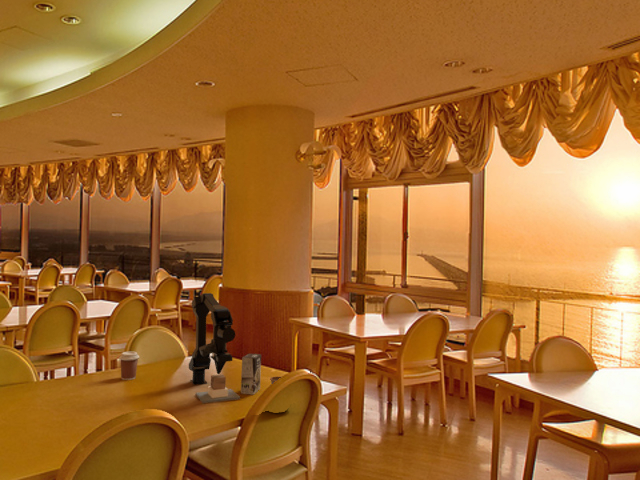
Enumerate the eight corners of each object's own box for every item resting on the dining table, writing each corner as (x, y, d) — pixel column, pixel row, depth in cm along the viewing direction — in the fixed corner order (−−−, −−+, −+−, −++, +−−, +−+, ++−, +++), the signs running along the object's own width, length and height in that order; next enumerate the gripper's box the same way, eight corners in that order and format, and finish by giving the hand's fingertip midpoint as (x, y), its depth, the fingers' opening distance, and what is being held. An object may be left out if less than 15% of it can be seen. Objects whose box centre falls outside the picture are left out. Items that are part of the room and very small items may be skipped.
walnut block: (210, 386, 223) (211, 375, 223) (221, 385, 225) (222, 374, 226) (213, 389, 219) (214, 378, 219) (225, 388, 221) (225, 377, 221)
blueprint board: (195, 395, 224) (196, 385, 224) (231, 391, 231) (231, 382, 231) (202, 403, 213) (203, 393, 213) (239, 399, 220) (240, 389, 220)
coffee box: (254, 395, 227) (255, 358, 227) (240, 393, 228) (241, 357, 228) (260, 389, 236) (261, 354, 236) (247, 388, 237) (248, 352, 237)
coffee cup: (142, 377, 247) (143, 352, 247) (126, 381, 240) (127, 356, 240) (130, 374, 252) (131, 350, 252) (114, 378, 245) (115, 353, 245)
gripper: (195, 334, 227) (194, 370, 227) (207, 342, 210) (205, 381, 210) (220, 333, 232) (219, 368, 232) (233, 341, 215) (232, 378, 215)
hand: (218, 373), depth 222 cm, fingers closed
